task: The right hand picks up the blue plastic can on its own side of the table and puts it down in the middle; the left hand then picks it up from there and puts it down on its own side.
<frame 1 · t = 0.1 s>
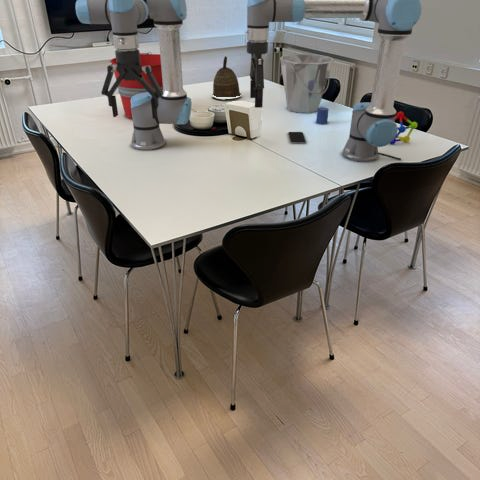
left hand: (135, 116, 150), 28 cm above the table, tool pointing down, fingers open, 13 cm apart
right hand: (256, 102, 166), 28 cm above the table, tool pointing down, fingers open, 13 cm apart
educational toy: (395, 143, 211), on the table
bucket 2: (147, 114, 249), on the table
bell: (226, 97, 281), on the table
bucket: (302, 108, 260), on the table
can: (321, 122, 237), on the table
smartphone: (296, 138, 216), on the table
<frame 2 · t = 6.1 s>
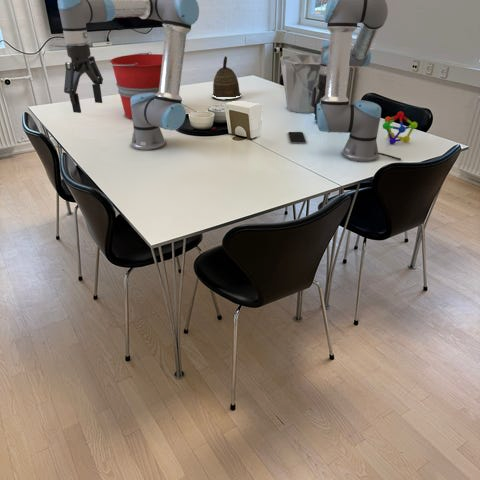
left hand: (88, 107, 161), 28 cm above the table, tool pointing down, fingers open, 13 cm apart
right hand: (321, 119, 236), 2 cm above the table, tool pointing down, fingers closed on can, 6 cm apart
can: (321, 122, 237), on the table, touching right hand
everything else where it was.
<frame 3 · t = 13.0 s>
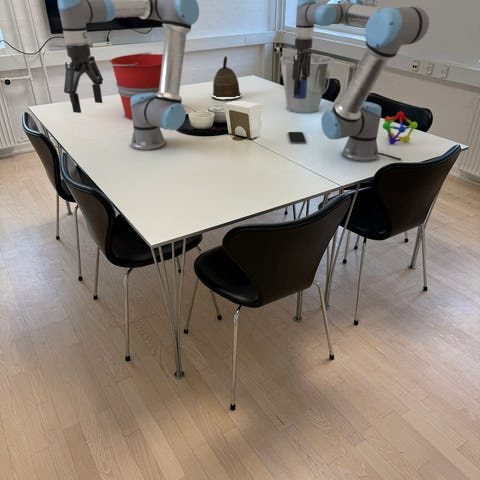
left hand: (88, 107, 161), 28 cm above the table, tool pointing down, fingers open, 13 cm apart
right hand: (299, 93, 202), 22 cm above the table, tool pointing down, fingers closed on can, 6 cm apart
can: (299, 97, 203), point 20 cm above the table, touching right hand
everything else where it was.
when the right hand's fingers open (4 cm above the table, at t = 19.8 s): can drops 2 cm, on the table.
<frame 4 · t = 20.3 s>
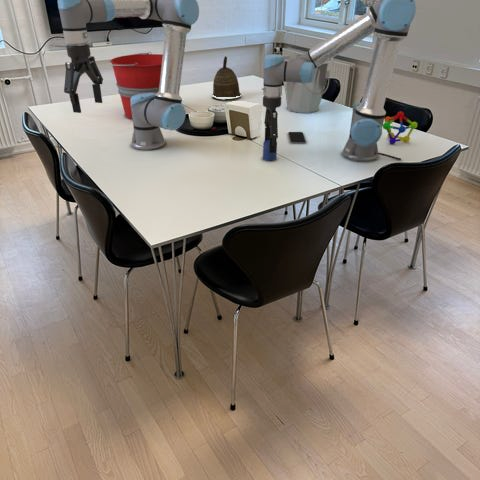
left hand: (88, 107, 161), 28 cm above the table, tool pointing down, fingers open, 13 cm apart
right hand: (270, 147, 190), 5 cm above the table, tool pointing down, fingers open, 12 cm apart
can: (269, 158, 193), on the table
everything else where it was.
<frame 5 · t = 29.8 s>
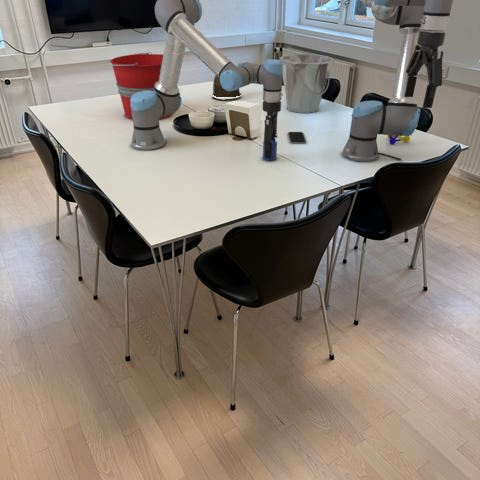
left hand: (269, 154, 192), 2 cm above the table, tool pointing down, fingers closed on can, 6 cm apart
right hand: (417, 102, 145), 34 cm above the table, tool pointing down, fingers open, 13 cm apart
can: (269, 158, 193), on the table, touching left hand
everything else where it was.
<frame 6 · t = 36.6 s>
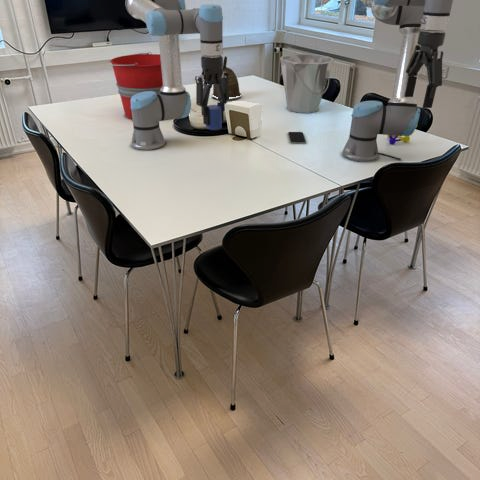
left hand: (213, 122, 164), 22 cm above the table, tool pointing down, fingers closed on can, 6 cm apart
right hand: (417, 102, 145), 34 cm above the table, tool pointing down, fingers open, 13 cm apart
can: (213, 127, 165), point 20 cm above the table, touching left hand
everything else where it was.
when the left hand's fingers open (4 cm above the table, at t = 43.5 s): can drops 2 cm, on the table.
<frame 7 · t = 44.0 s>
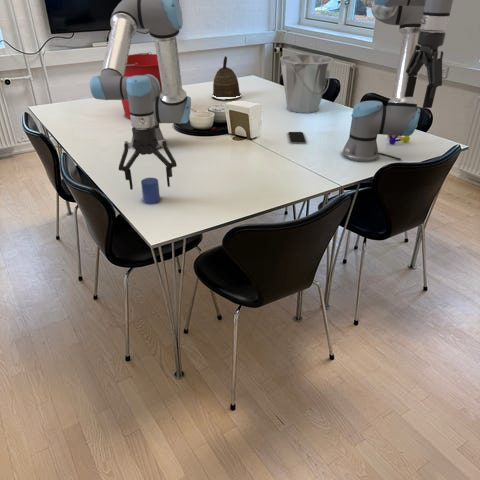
left hand: (150, 186, 156), 5 cm above the table, tool pointing down, fingers open, 12 cm apart
right hand: (417, 102, 145), 34 cm above the table, tool pointing down, fingers open, 13 cm apart
can: (151, 200, 159), on the table
everything else where it was.
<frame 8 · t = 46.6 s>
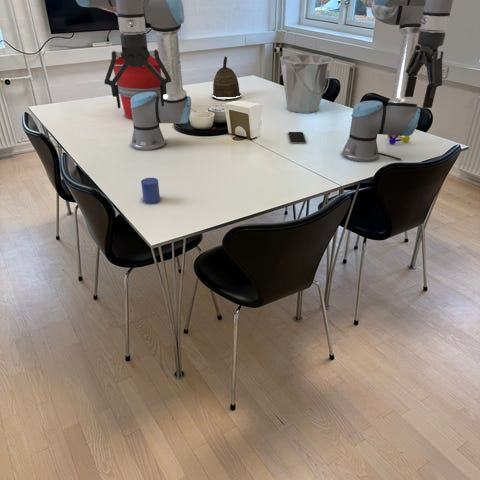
left hand: (141, 106, 141), 33 cm above the table, tool pointing down, fingers open, 13 cm apart
right hand: (417, 102, 145), 34 cm above the table, tool pointing down, fingers open, 13 cm apart
nothing on the table moved.
at the end: can inside the target area (0.0 cm from its centre), on the table; can tilted 0°; the two hands never held the can at the same time; the left hand is holding nothing; the right hand is holding nothing; can at rest at the end (0.0 cm/s) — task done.
